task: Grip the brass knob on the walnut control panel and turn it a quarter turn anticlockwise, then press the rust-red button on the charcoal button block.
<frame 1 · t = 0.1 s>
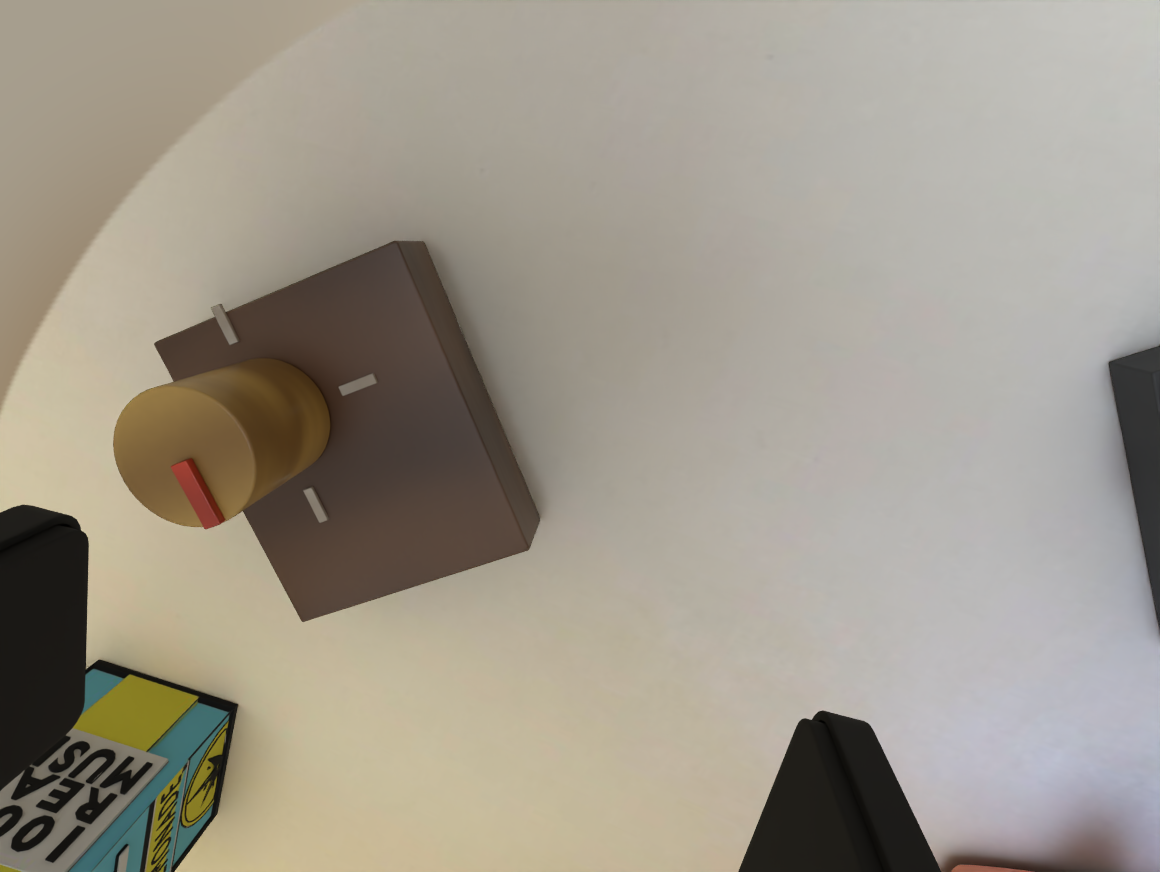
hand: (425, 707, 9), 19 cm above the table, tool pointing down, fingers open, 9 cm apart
knob: (230, 437, 22), point 6 cm above the table, hinge at 0.0°
carton: (170, 739, 33), on the table
panel: (375, 427, 28), on the table
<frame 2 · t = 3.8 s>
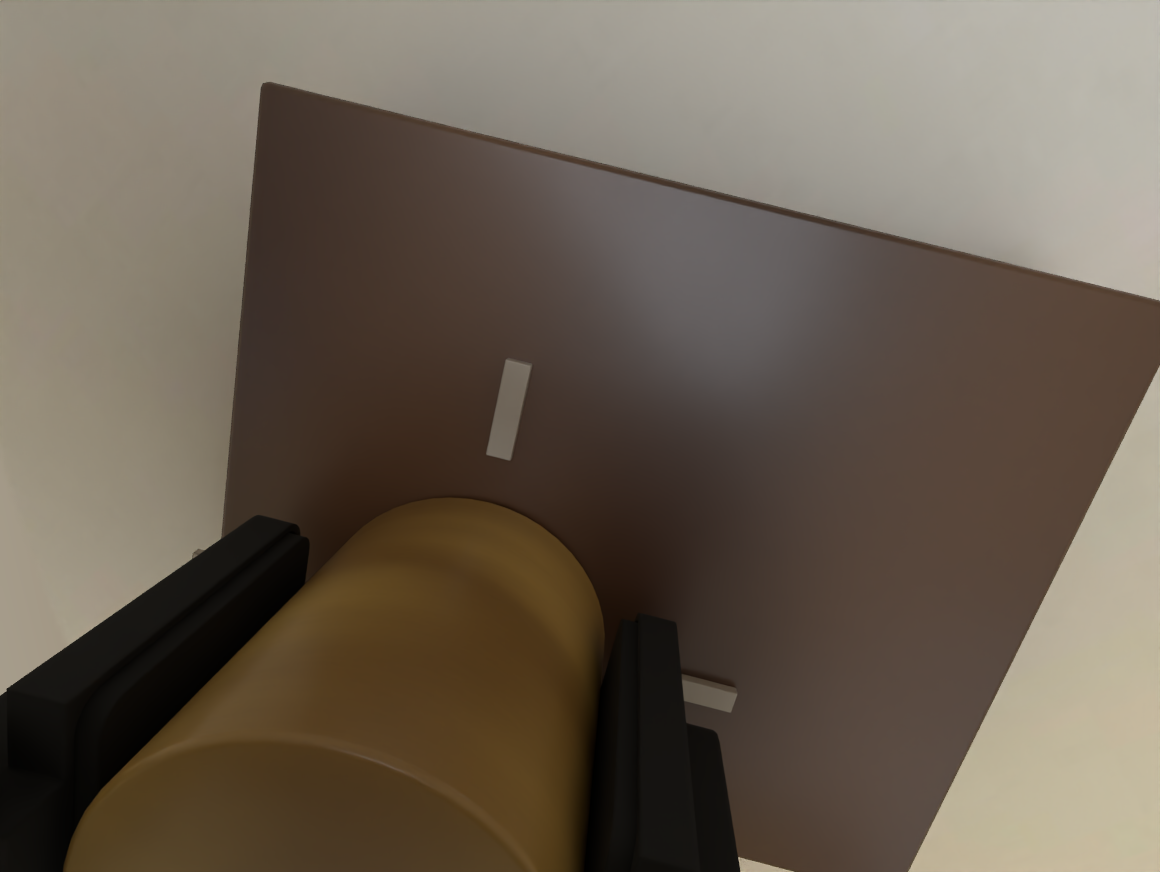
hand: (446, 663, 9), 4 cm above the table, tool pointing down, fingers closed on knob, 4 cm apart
knob: (404, 753, 8), point 6 cm above the table, hinge at 0.2°, touching gripper
panel: (624, 477, 13), on the table
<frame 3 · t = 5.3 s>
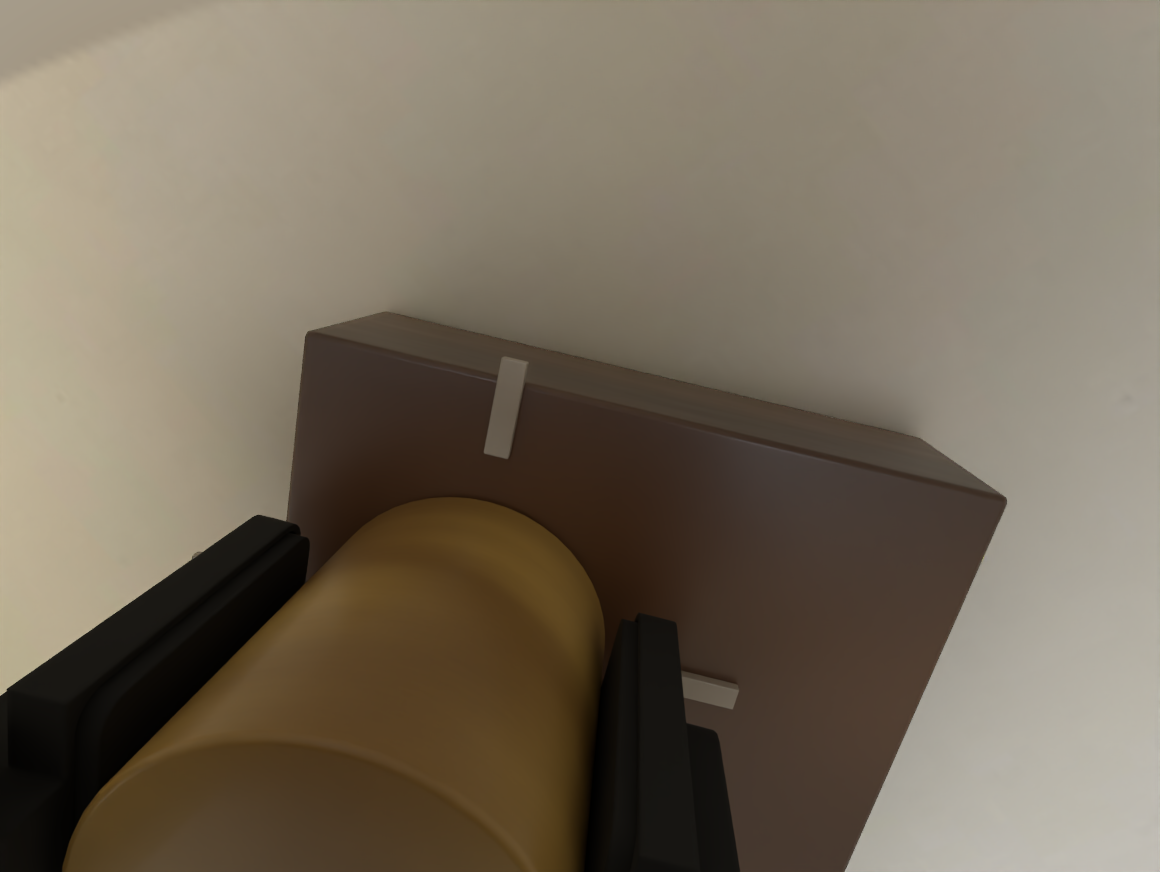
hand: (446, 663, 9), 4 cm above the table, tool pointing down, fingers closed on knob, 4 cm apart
knob: (404, 753, 8), point 6 cm above the table, hinge at 89.6°, touching gripper
panel: (578, 653, 14), on the table
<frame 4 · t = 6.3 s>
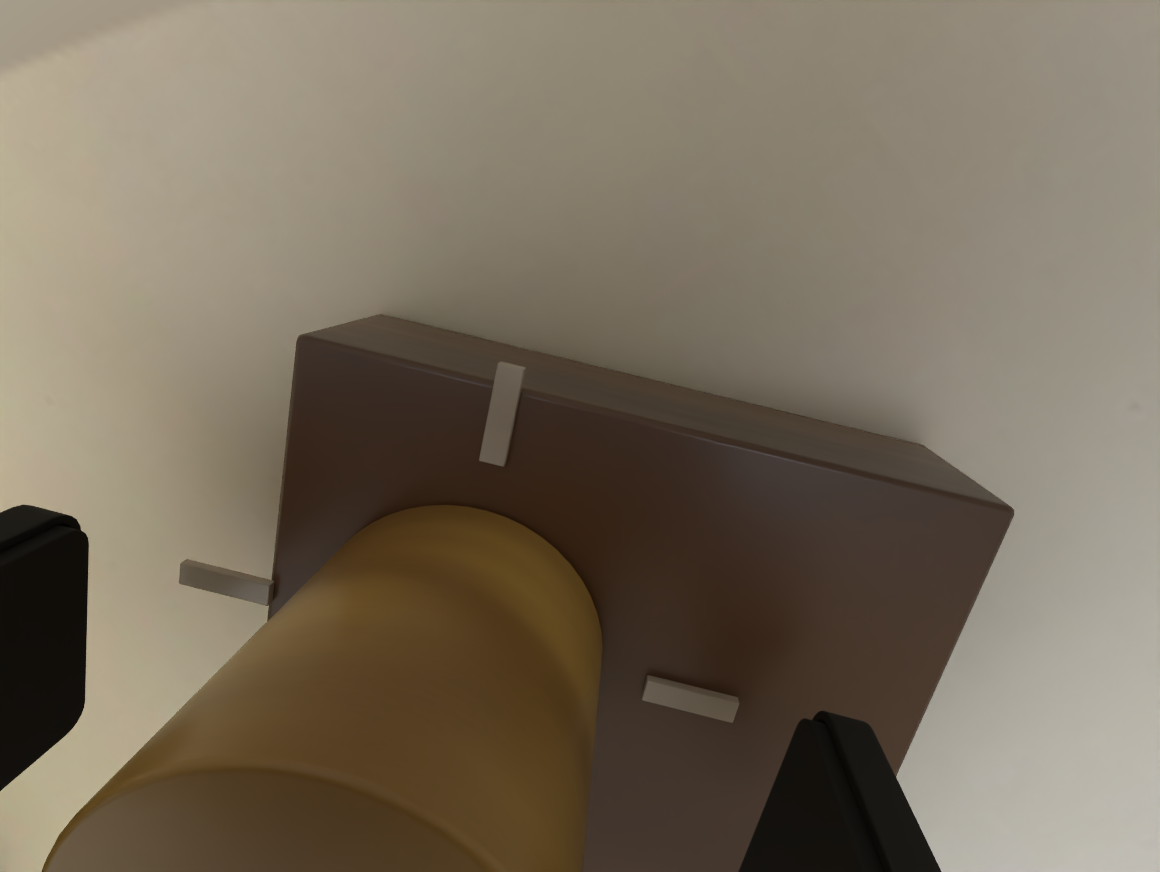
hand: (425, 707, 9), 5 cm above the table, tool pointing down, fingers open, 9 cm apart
knob: (395, 770, 8), point 6 cm above the table, hinge at 88.3°
panel: (575, 662, 14), on the table
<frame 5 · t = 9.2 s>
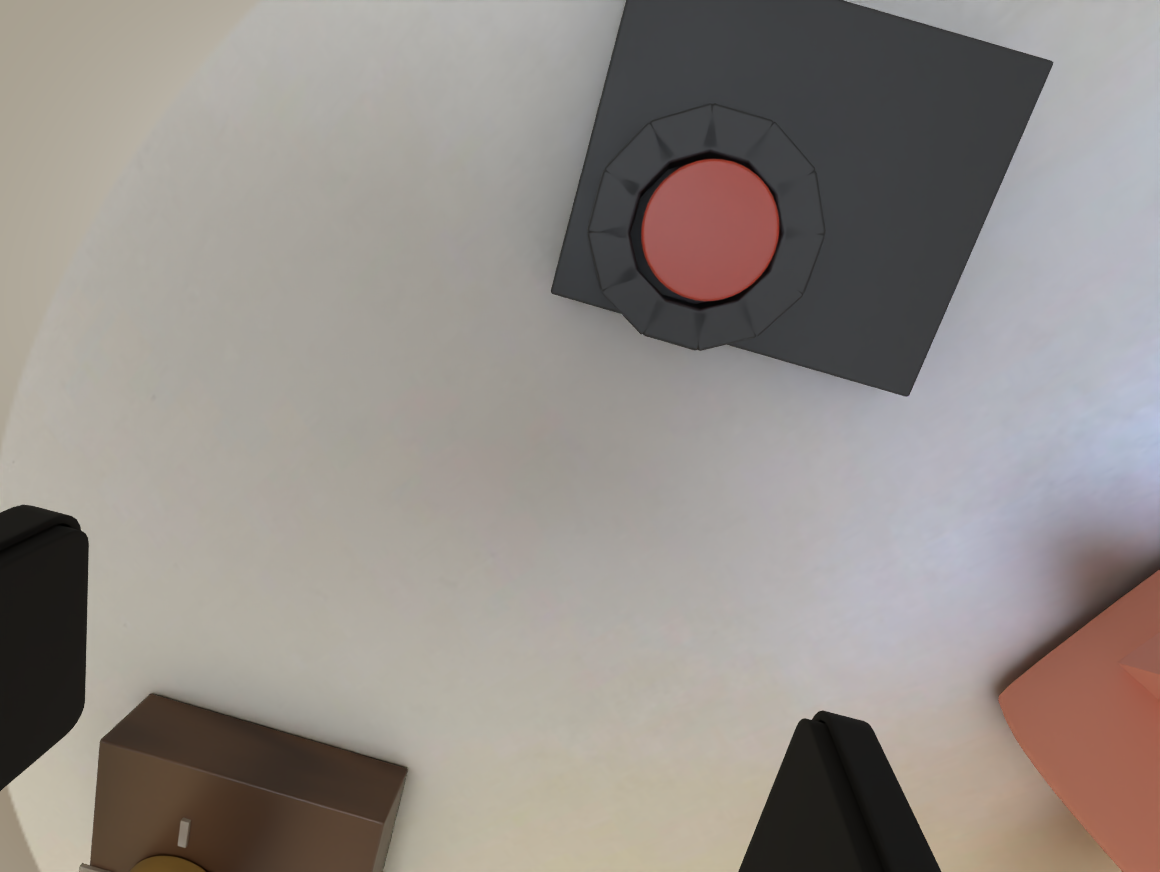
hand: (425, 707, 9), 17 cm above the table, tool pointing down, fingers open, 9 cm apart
button: (706, 232, 18), point 4 cm above the table, slide at 0.1 cm
button block: (770, 191, 22), on the table
panel: (264, 815, 31), on the table
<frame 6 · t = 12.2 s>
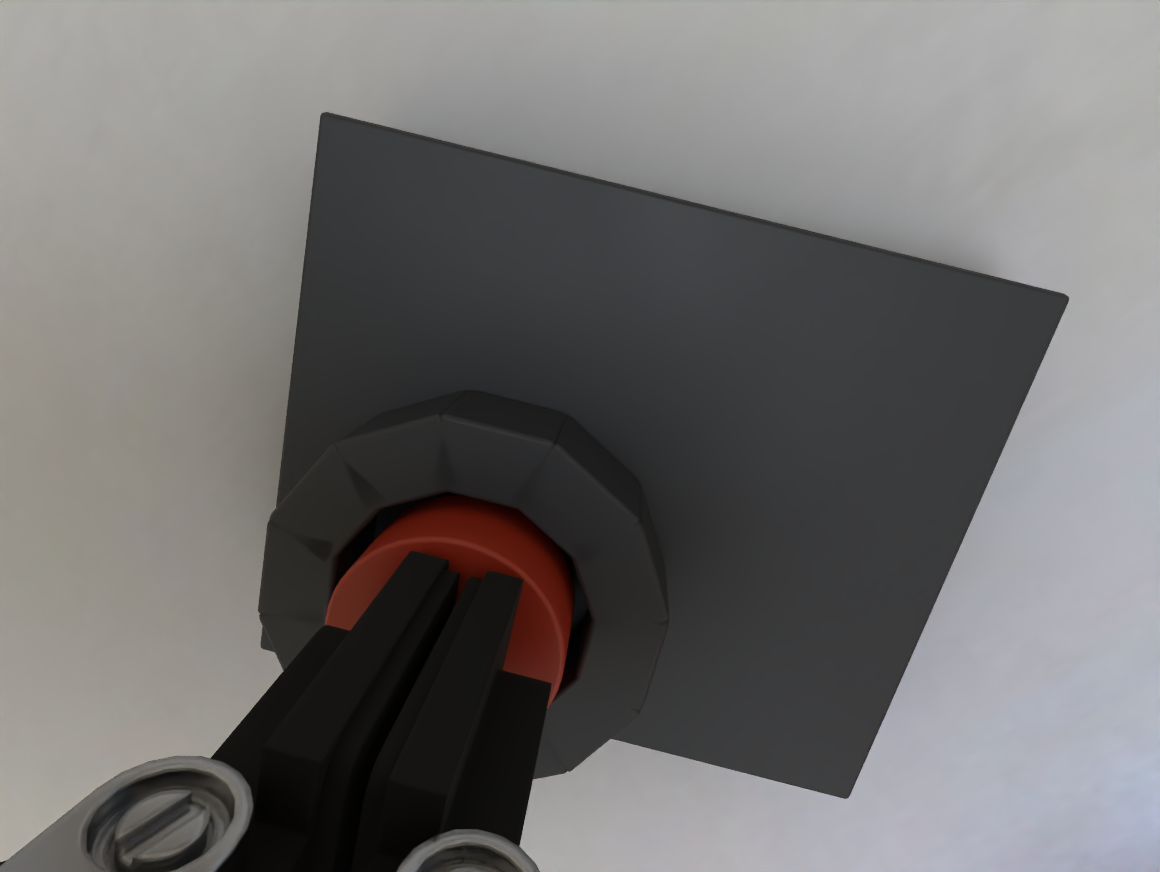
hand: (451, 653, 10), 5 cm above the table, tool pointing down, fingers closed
button: (457, 619, 11), point 4 cm above the table, slide at -0.4 cm, touching gripper
button block: (617, 457, 14), on the table
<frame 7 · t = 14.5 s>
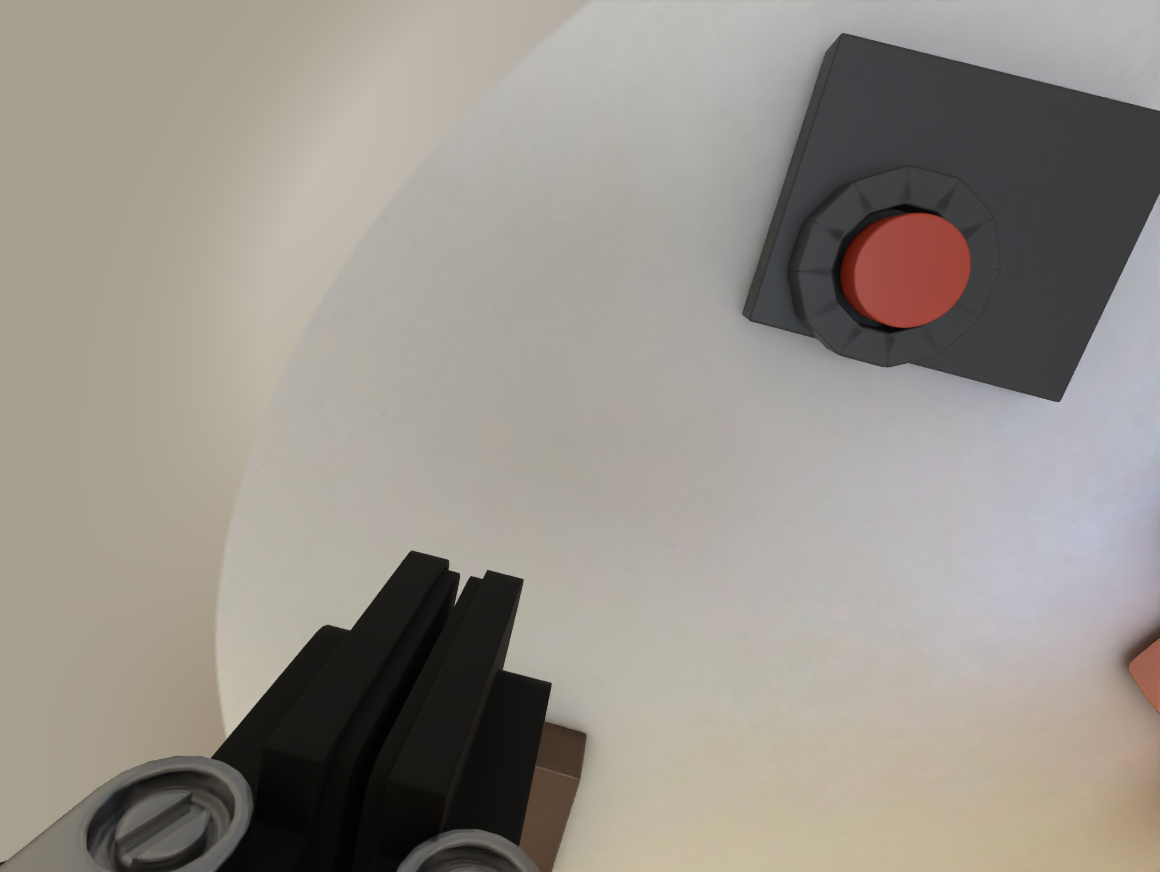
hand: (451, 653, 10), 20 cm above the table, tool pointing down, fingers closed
button: (902, 270, 22), point 4 cm above the table, slide at 0.1 cm
button block: (932, 228, 26), on the table
panel: (455, 777, 36), on the table
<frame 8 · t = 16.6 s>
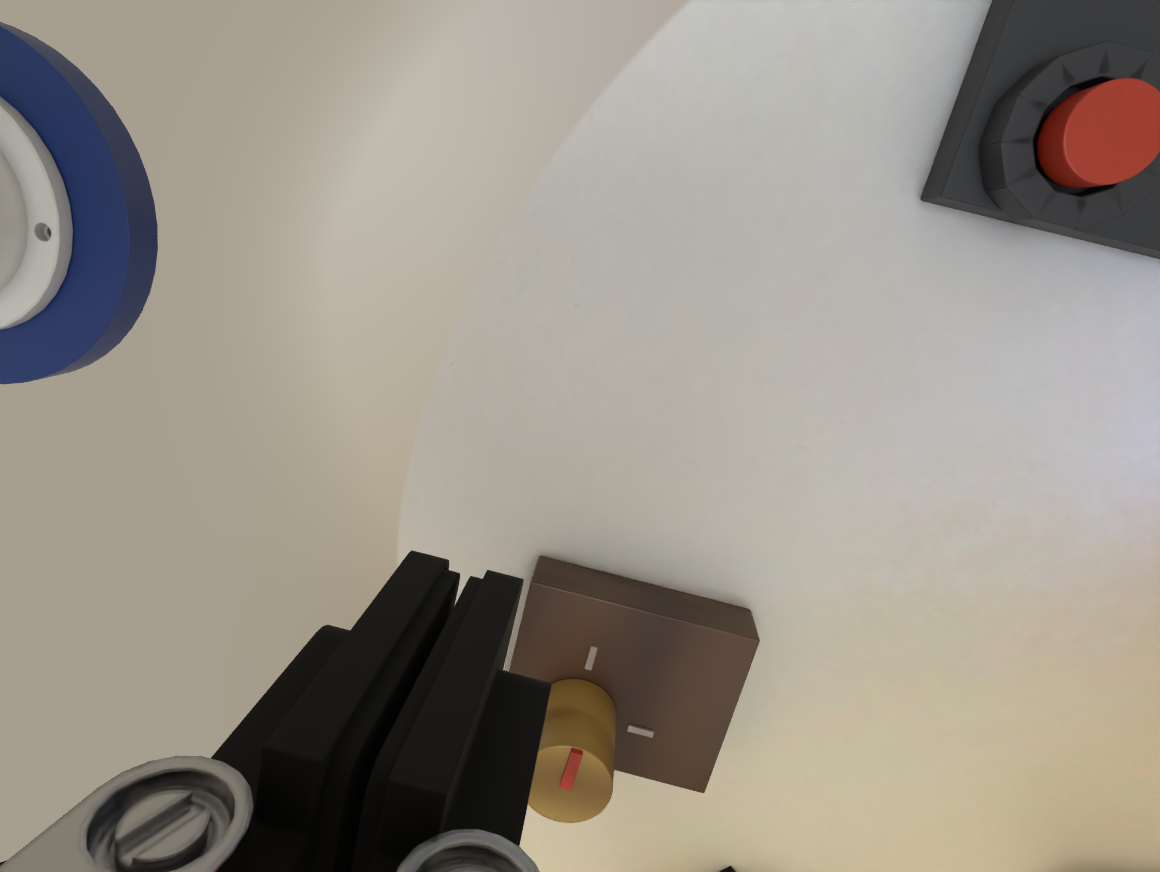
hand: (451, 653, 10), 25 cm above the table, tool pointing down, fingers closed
knob: (570, 749, 33), point 6 cm above the table, hinge at 88.3°
button: (1100, 135, 25), point 4 cm above the table, slide at 0.1 cm
button block: (1098, 114, 29), on the table
panel: (622, 658, 38), on the table
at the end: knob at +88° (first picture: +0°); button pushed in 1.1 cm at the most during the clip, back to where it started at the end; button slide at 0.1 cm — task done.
